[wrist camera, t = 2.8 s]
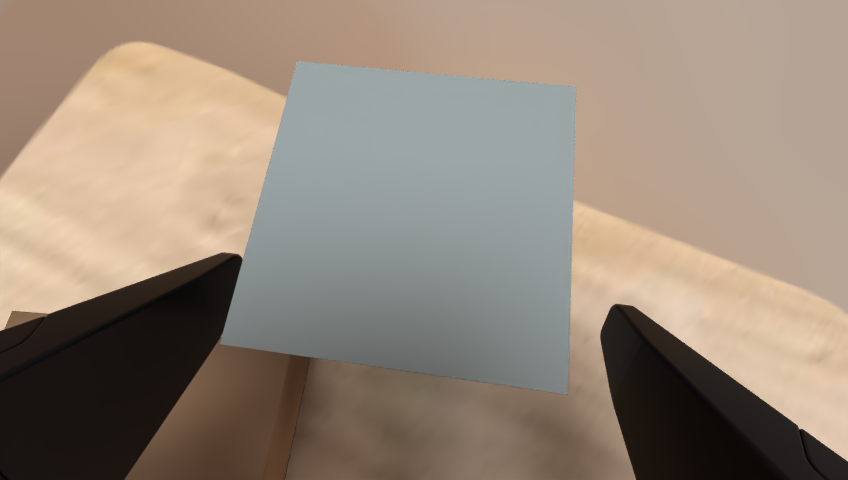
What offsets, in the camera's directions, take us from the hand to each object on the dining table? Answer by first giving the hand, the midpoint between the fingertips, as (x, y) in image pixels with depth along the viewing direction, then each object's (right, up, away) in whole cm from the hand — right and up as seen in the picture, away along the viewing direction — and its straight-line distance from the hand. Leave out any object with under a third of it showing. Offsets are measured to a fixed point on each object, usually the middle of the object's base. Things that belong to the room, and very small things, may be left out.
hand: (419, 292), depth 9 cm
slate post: (0, -1, +8) cm, 9 cm away
